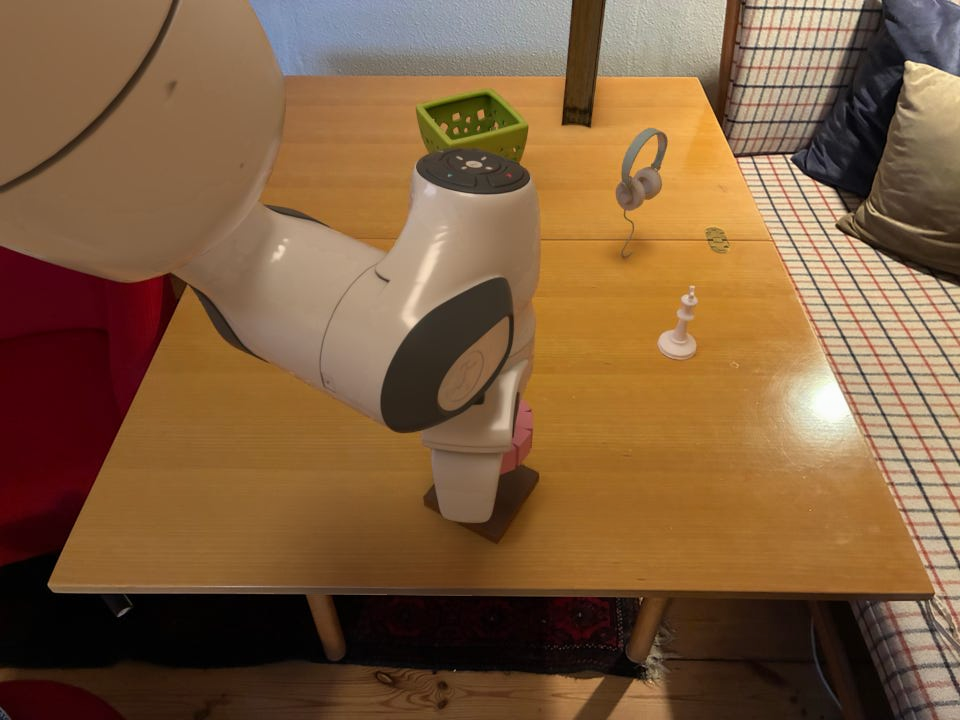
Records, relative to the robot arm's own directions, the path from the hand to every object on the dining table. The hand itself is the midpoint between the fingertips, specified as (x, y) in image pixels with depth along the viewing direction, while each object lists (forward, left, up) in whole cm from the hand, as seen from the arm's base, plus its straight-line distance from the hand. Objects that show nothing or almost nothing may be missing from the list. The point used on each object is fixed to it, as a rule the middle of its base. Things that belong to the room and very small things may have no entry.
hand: (477, 456), depth 63 cm
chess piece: (+36, -8, -12) cm, 39 cm away
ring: (+3, +2, -2) cm, 4 cm away
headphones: (+50, +5, -12) cm, 51 cm away
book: (+88, +31, -12) cm, 94 cm away
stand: (+4, +2, -12) cm, 13 cm away
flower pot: (+55, +35, -12) cm, 66 cm away
